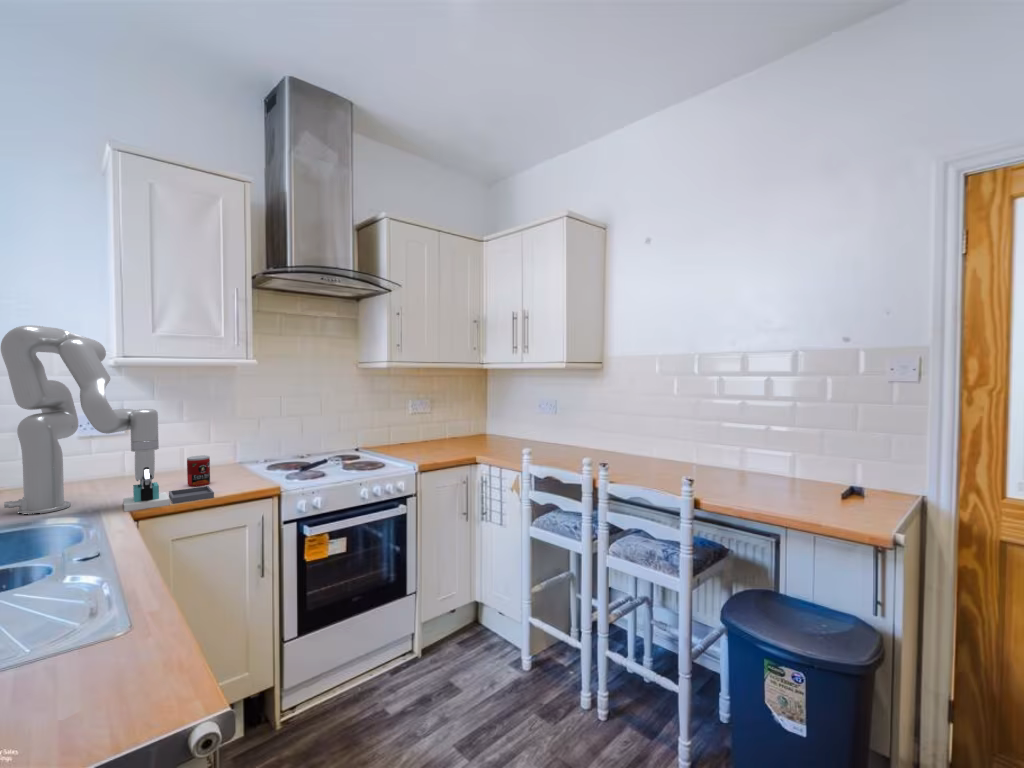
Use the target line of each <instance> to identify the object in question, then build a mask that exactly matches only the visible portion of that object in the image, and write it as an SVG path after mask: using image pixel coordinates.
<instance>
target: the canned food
mask: <svg viewBox="0 0 1024 768" xmlns="http://www.w3.org/2000/svg"><path fill="white" fill-rule="evenodd" d="M210 462H211V460H210V456H209V455H205V454H204V455H195V456H193V455H192V456H188V457H187V458H186V473H187V474H186V476H187V479H186V481H187V486H188V487H191V488H196V487H204V486H209V484H210V483H211V463H210Z"/></svg>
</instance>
